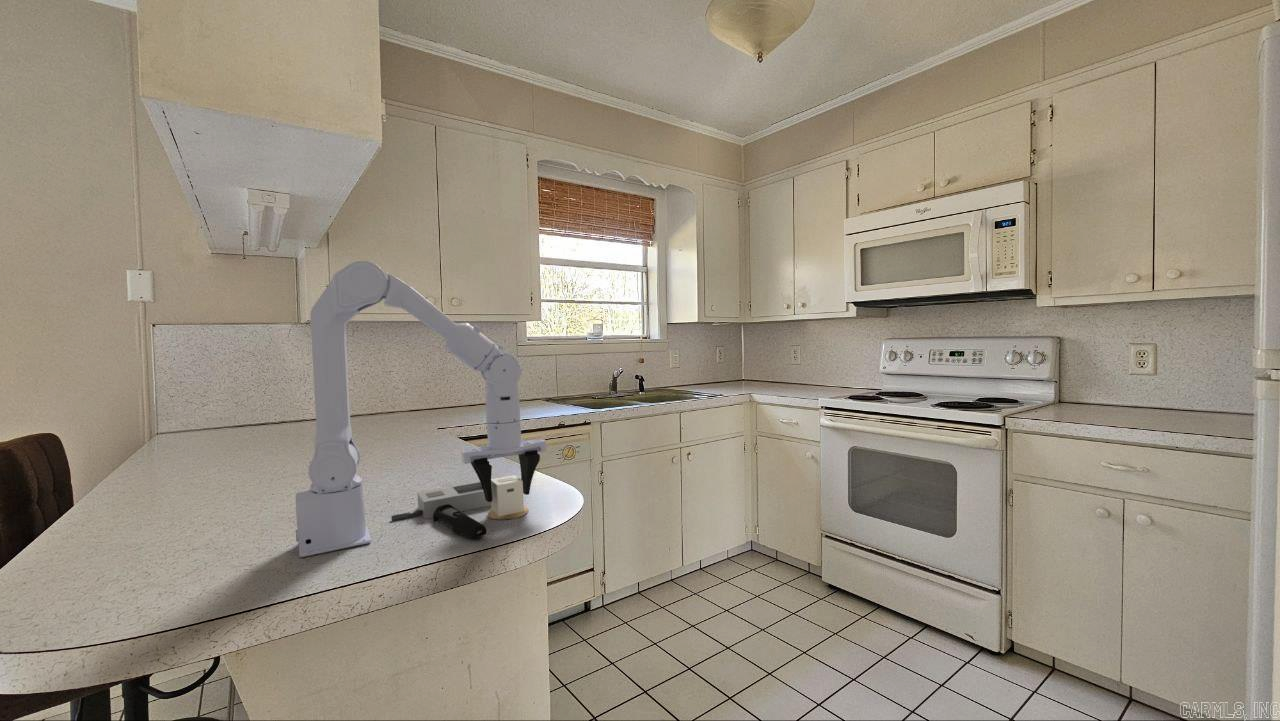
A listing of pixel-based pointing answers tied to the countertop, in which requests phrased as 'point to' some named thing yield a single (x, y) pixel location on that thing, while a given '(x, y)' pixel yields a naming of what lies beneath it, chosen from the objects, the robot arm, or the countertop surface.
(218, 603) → the countertop surface
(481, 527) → the electric trimmer
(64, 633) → the countertop surface
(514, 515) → the coaster
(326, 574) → the countertop surface
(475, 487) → the power strip
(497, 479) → the box
